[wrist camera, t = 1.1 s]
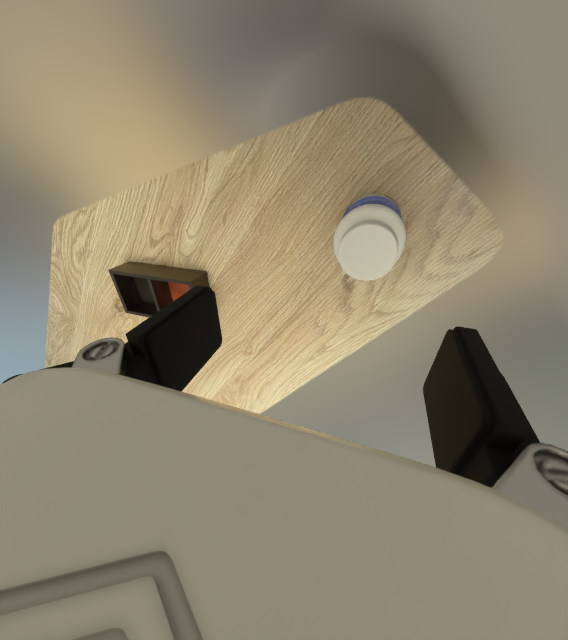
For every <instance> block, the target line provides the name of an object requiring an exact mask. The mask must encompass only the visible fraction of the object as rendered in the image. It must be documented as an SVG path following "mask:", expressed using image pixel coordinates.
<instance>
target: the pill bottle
mask: <svg viewBox="0 0 568 640" xmlns="http://www.w3.org/2000/svg"><path fill="white" fill-rule="evenodd" d="M405 244H406V230H405V226H404V222H403V220H402V217H401V214H400V210H399V208H398V206H397V204H396V203H395V202H394V201H393V200H392V199H391V198H389V197H388V196H385V195H382V194H376V193H373V194H367V195H364V196H362V197H360V198H358V199H357V200H355V201H354V202H353V203H352V204H351V205H350V206H349V207H348V209H347V210H346V212H345V214H344V216H343V217H342V219H341V221H340V222H339V224H338V226H337V228H336V231H335V234H334V238H333V249H334V253H335V256H336V258H337V260H338V261H339V264H340V266H341V268H342V269H343V271H344V272H345V273H346V274H347V275H349V276H350V277H352V278H354V279H357V280H362V281H370V280H375V279H378V278H380V277H382V276H384V275H385V274H386V273H388V272H389V271H390V270H391V269H392V267H393V266H394V264H395V263H396V262H397V261H398V259H399V258H400V256H401V255H402V253H403V250H404V248H405Z"/></svg>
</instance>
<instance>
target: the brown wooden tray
mask: <svg viewBox="0 0 568 640" xmlns="http://www.w3.org/2000/svg"><path fill="white" fill-rule="evenodd" d="M109 273H110V275H111V278H112V280H113V282H114V285H115V287H116V290H117V292H118V295H119V297H120V299H121V302H122V304H123V307H124V309H125V312H126V313H130V314H135V315H140V316H145V317H151V316H152V315H154V314H155V313H157V312H158V311H160V310H161V309H163V308H164V307H166V306H167V305H168V304H170V303H171V302H173V301H174V300H176V299H177V298H179V297H180V296H181V295H183V294H184V293H186V292H187V291H189V290H190V289H192V288H193V287H195V286H196V285H200V286H206V287H209V283H208V278H207V272H205V271H197V270H190V269H182V268H174V267H167V266H159V265H151V264H144V263H136V262H127V263H124V264H122V265H119V266H117V267H115V268H112V269H110V270H109Z"/></svg>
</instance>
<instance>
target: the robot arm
mask: <svg viewBox="0 0 568 640" xmlns="http://www.w3.org/2000/svg"><path fill="white" fill-rule="evenodd" d="M126 336H127V339H128V342H127V343H126V344H124V342H123V341H122V340H121V339H119V338H104V339H100V340H97V341H95V342H92V343H90V344H88V345H87V346H85V347H84V348H82V349H81V350H80V351H79V353H78V354H77V356H76V358H75V361H73V362H69V363H65V364H61V365H57V366H53V367H49V368H45V369H41V370H37V371H32V372H28V373H25V374H20V375H16V376H13V377H11V378H9V379H7V380H6V381H4V382H3V384H1V385H0V640H568V451H566V450H564V449H561V448H559V447H556V446H553V445H550V444H544V443H540V442H539V440H538V438H537V436H536V434H535V433H534V431H533V429H532V427H531V425H530V423H529V422H528V420H527V418H526V416H525V414H524V413H523V411H522V409H521V407H520V405H519V404H518V402H517V400H516V398H515V396H514V394H513V393H512V391H511V389H510V387H509V385H508V383H507V382H506V381H505V378H504V376H503V375H502V374H501V373H500V371H499V370H498V368H497V366H496V364H495V362H494V361H493V359H492V357H491V355H490V353H489V351H488V349H487V348H486V346H485V344H484V342H483V340H482V339H481V336H480V335H479V333H478V331H477V330H476V329H470V328H464V327H455V328H454V330H450V329H449V330H448V331H447V333H446V335H445V337H444V340H443V342H442V344H441V346H440V349H439V351H438V353H437V356H436V358H435V360H434V362H433V365H432V367H431V369H430V371H429V374H428V376H427V378H426V381H425V383H424V387H423V394H424V399H425V405H426V411H427V416H428V423H429V429H430V434H431V440H432V446H433V452H434V458H435V463H436V468H435V467H432V466H429V465H426V464H423V463H420V462H416V461H413V460H410V459H406V458H403V457H400V456H397V455H394V454H391V453H388V452H384V451H381V450H378V449H375V448H371V447H368V446H365V445H361V444H358V443H354V442H351V441H348V440H344V439H341V438H338V437H334V436H331V435H328V434H324V433H321V432H317V431H314V430H311V429H308V428H304V427H300V426H298V425H294V424H291V423H287V422H284V421H281V420H277V419H274V418H270V417H267V416H263V415H260V414H257V413H253V412H250V411H246V410H243V409H240V408H236V407H233V406H229V405H226V404H222V403H219V402H215V401H212V400H209V399H205V398H202V397H198V396H195V395H191V394H188V393H184V392H181V391H182V390H183V389H184V388H185V387H186V386H187V384H188V383H189V382H190V381H191V380H192V379H193V377H194V376H195V375H196V374H197V373H198V372H199V371H200V369H201V368H202V367H203V366H204V365H205V364H206V362H207V361H208V360H209V359H210V358H211V357H212V355H213V354H214V353H215V352H216V351H217V350H218V348H219V347H220V346H221V344H222V335H221V329H220V322H219V316H218V310H217V304H216V298H215V293H214V291H212V289H211V288H210V287H206V286H200V285H196V286H195V287H193V288H192V289H190V290H189V291H187V292H186V293H184V294H183V295H181V296H180V297H179V298H177V299H176V300H174V301H173V302H171V303H170V304H168V305H167V306H166V307H164V308H163V309H161V310H160V311H158V312H157V313H155V314H154V315H152V316H151V317H150V318H148V319H147V320H145V321H144V322H142V323H141V324H139V325H138V326H136V327H135V328H134V329H132V330H131V331H129V332H128V333H126Z"/></svg>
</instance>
